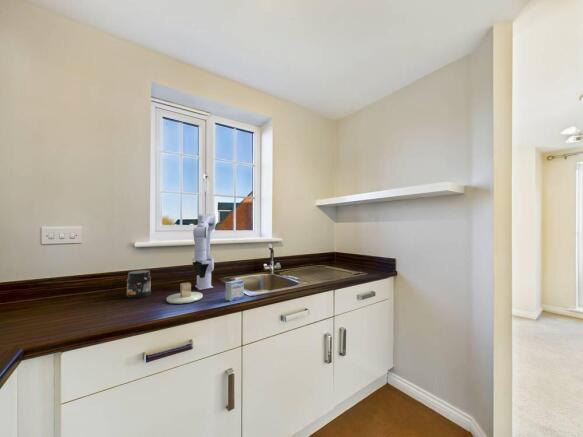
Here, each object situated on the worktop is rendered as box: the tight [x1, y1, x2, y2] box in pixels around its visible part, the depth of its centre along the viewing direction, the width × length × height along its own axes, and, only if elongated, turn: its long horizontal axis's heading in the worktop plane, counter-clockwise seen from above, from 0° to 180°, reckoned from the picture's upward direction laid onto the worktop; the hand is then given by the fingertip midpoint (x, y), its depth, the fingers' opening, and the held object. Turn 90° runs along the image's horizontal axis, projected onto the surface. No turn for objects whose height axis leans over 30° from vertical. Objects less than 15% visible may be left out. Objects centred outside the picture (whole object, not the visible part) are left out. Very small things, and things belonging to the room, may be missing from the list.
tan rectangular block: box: [179, 282, 192, 298], centre depth 119 cm, size 4×4×6 cm
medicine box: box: [225, 279, 245, 302], centre depth 119 cm, size 8×4×9 cm, turn 143°
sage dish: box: [166, 291, 204, 304], centre depth 118 cm, size 16×16×2 cm
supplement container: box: [126, 269, 152, 299], centre depth 126 cm, size 10×10×12 cm
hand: (200, 276), depth 126 cm, fingers open, 7 cm apart
